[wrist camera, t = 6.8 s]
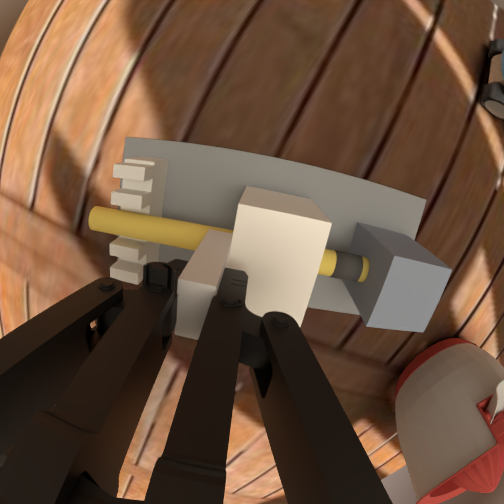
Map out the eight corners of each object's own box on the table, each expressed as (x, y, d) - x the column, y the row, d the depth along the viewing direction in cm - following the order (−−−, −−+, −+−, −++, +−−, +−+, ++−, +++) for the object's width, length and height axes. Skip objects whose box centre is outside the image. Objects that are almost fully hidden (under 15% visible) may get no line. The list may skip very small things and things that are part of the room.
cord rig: (119, 266, 25) (75, 309, 18) (128, 137, 21) (71, 138, 13) (381, 315, 26) (412, 368, 18) (423, 198, 21) (478, 223, 14)
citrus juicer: (495, 300, 25) (586, 400, 6) (457, 394, 31) (504, 488, 12) (396, 321, 26) (482, 486, 7) (370, 419, 32) (400, 539, 13)
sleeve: (231, 269, 24) (219, 316, 17) (246, 185, 21) (238, 203, 14) (290, 280, 24) (298, 330, 17) (311, 199, 21) (331, 223, 15)
